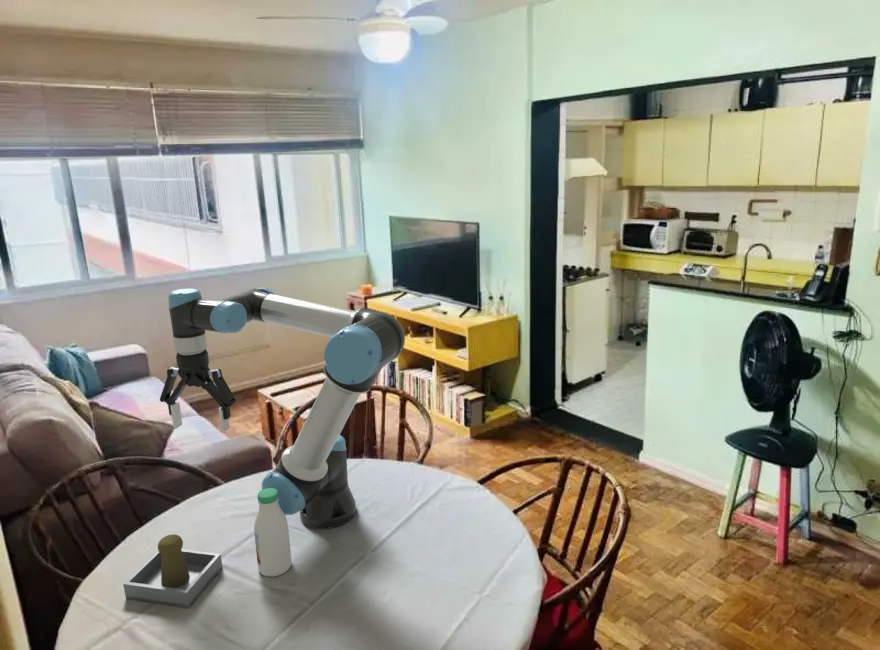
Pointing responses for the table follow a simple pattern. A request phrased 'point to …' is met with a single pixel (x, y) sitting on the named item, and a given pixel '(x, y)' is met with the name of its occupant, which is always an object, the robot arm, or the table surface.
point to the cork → (172, 562)
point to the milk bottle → (271, 535)
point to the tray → (150, 589)
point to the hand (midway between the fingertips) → (201, 428)
